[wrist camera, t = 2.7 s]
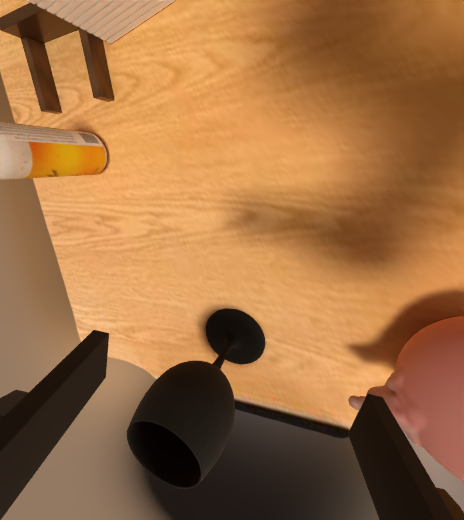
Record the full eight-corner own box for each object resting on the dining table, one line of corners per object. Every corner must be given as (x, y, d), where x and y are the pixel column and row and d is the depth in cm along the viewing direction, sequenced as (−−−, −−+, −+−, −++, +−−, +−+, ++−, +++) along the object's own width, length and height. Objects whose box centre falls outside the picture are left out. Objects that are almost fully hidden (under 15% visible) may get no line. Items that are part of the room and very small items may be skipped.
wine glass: (234, 371, 46) (168, 501, 28) (195, 326, 46) (104, 429, 28) (279, 347, 41) (232, 487, 23) (234, 296, 40) (154, 398, 23)
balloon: (341, 293, 34) (341, 377, 21) (557, 286, 26) (787, 418, 13) (350, 388, 38) (356, 510, 25) (540, 408, 30) (701, 606, 17)
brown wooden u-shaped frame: (114, 100, 37) (84, 91, 33) (56, 114, 41) (23, 108, 37) (96, 10, 34) (60, -13, 29) (36, 35, 38) (-4, 18, 34)
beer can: (75, 158, 43) (-41, 156, 30) (86, 124, 40) (-37, 105, 27) (102, 182, 42) (-4, 191, 29) (115, 149, 40) (4, 143, 26)
